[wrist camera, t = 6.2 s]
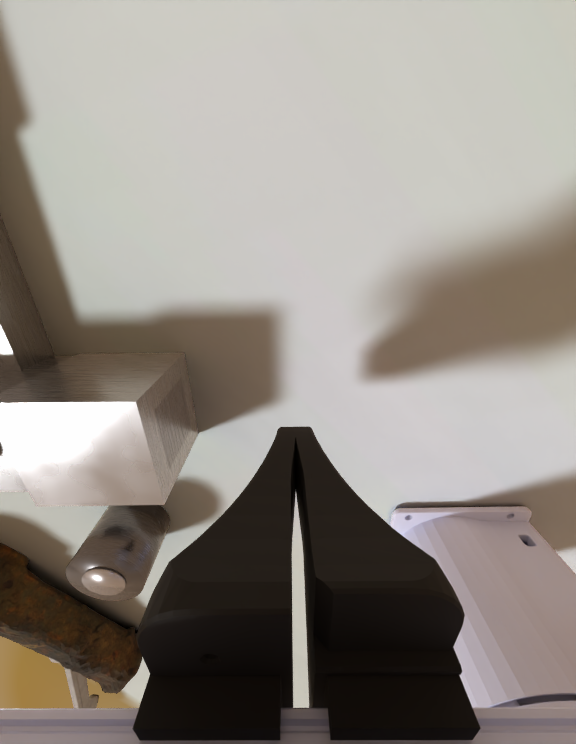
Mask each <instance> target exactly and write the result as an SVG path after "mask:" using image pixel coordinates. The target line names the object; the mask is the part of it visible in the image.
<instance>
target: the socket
mask: <svg viewBox="0 0 576 744" xmlns="http://www.w3.org/2000/svg"><path fill="white" fill-rule="evenodd" d="M169 526H170V518H169V515H168V514H167V512H166V511H165V509H164V508H163V507H161V506H160V505H110V506H109V507H108V508H107V510H106V511H105V512H104V514H103V515H102V517H101V518H100V520H99V521H98V523H97V524H96V525H95V527H94V528H93V530H92V531H91V533H90V534H89V536H88V537H87V539H86V540H85V541H84V543H83V544H82V546H81V547H80V549H79V550H78V552H77V553H76V554H75V556H74V557H73V559H72V560H71V562H70V563H69V565H68V566H67V568H66V577H67V579H68V581H69V583H70V584H71V585H72V586H73V587H74V588H75V589H77V590H78V591H80V592H82V593H83V594H85V595H88V596H90V597H93V598H96V599H101V600H107V601H122V600H127V599H131V598H133V597H135V596H137V595H138V594H140V593H141V591H142V590H143V588H144V585H145V583H146V580H147V578H148V576H149V573H150V571H151V569H152V566H153V564H154V561H155V559H156V557H157V554H158V552H159V550H160V547H161V545H162V542H163V540H164V538H165V535H166V533H167V531H168V528H169Z"/></svg>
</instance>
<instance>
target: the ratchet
mask: <svg viewBox="0 0 576 744" xmlns="http://www.w3.org/2000/svg"><path fill="white" fill-rule="evenodd" d="M73 356H75V355H59V356H54V353H53V350H52V348H51V345H50V343H49V340H48V337H47V335H46V332H45V330H44V327H43V324H42V322H41V319H40V317H39V314H38V311H37V309H36V306H35V304H34V301H33V298H32V296H31V293H30V291H29V288H28V285H27V283H26V280H25V278H24V275H23V272H22V270H21V267H20V265H19V262H18V259H17V257H16V254H15V252H14V249H13V246H12V244H11V241H10V239H9V236H8V233H7V231H6V228H5V225H4V223H3V220H2V218H1V215H0V393H2V392H4V391H6V390H8V389H10V388H12V387H14V386H16V385H18V384H20V383H22V382H24V381H26V380H28V379H30V378H32V377H34V376H36V375H37V374H39V373H41V372H43V371H45V370H47V369H49V368H51V367H53V366H55V365H57V364H59V363H61V362H63V361H65V360H67V359H69V358H71V357H73ZM0 492H28V490H27V488H26V487H25V485H24V483H23V481H22V479H21V478H20V476H19V474H18V472H17V470H16V468H15V467H14V465H13V463H12V461H11V459H10V457H9V456H8V454H7V452H6V450H5V448H4V447H3V445H2V443H1V441H0Z"/></svg>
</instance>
